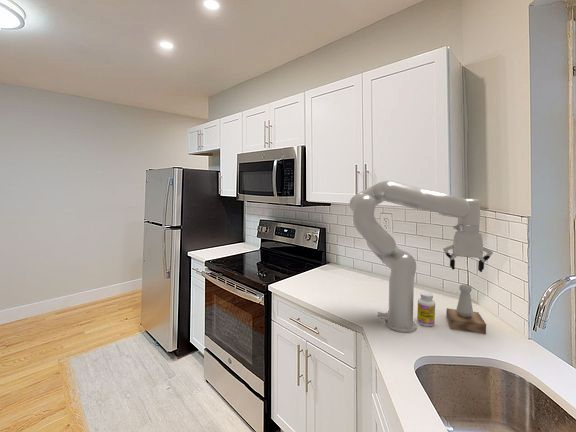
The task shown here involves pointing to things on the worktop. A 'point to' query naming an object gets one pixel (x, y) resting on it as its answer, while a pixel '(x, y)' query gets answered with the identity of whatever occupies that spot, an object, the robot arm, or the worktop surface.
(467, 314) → the salt shaker
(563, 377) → the worktop surface
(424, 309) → the supplement bottle
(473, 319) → the walnut riser block
